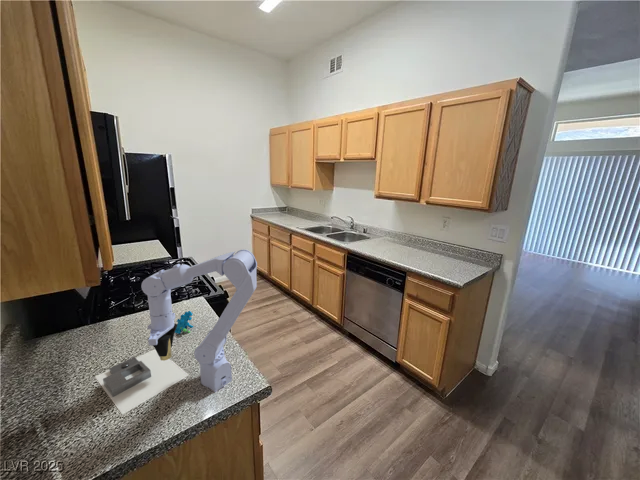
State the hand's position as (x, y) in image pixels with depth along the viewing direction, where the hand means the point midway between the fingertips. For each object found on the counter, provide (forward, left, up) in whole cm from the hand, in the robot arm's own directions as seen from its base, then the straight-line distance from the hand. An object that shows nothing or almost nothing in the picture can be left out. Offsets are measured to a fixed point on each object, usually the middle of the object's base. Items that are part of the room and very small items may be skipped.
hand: (165, 351), depth 81 cm
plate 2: (+7, +8, -9) cm, 14 cm away
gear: (+22, -16, -10) cm, 29 cm away
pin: (0, 0, -2) cm, 2 cm away
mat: (+6, +5, -10) cm, 12 cm away
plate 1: (+10, +7, -9) cm, 15 cm away
